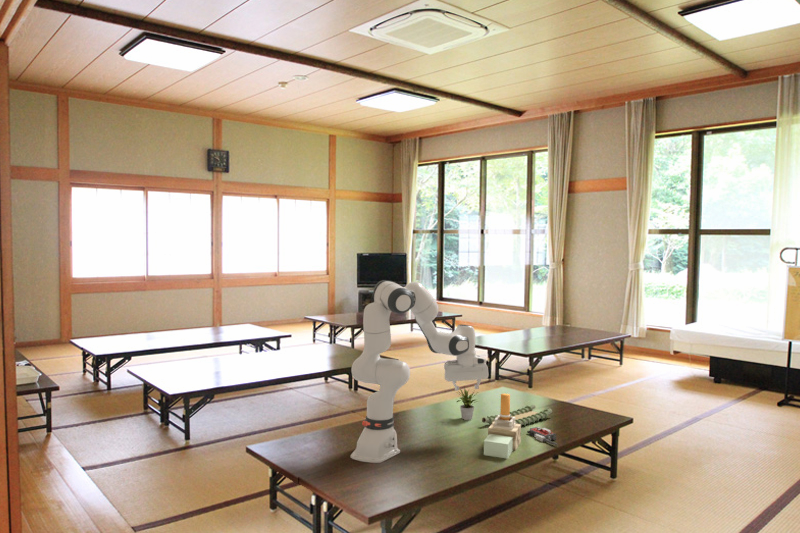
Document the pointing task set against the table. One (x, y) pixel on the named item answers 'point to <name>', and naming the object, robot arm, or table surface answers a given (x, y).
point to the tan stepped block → (506, 429)
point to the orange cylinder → (505, 407)
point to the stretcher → (522, 415)
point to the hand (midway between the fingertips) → (466, 389)
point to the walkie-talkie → (542, 434)
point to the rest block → (498, 446)
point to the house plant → (466, 405)
